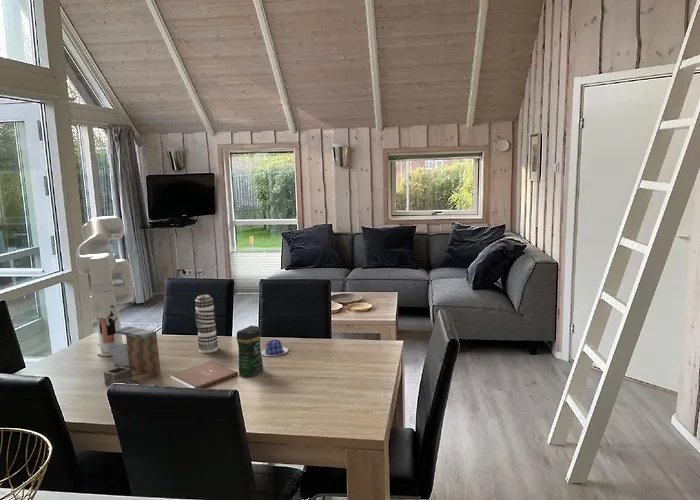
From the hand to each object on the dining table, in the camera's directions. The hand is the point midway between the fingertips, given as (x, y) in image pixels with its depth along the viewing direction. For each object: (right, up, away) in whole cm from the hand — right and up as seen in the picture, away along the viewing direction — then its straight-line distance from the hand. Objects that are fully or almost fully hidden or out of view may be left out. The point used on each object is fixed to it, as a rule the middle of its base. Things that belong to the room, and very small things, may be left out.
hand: (108, 333), depth 214 cm
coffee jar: (+56, -16, +3) cm, 58 cm away
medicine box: (-2, -17, +21) cm, 27 cm away
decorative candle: (+30, -13, +35) cm, 48 cm away
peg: (0, -3, 0) cm, 3 cm away
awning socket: (+7, -18, +4) cm, 20 cm away
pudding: (+61, -13, +27) cm, 68 cm away
